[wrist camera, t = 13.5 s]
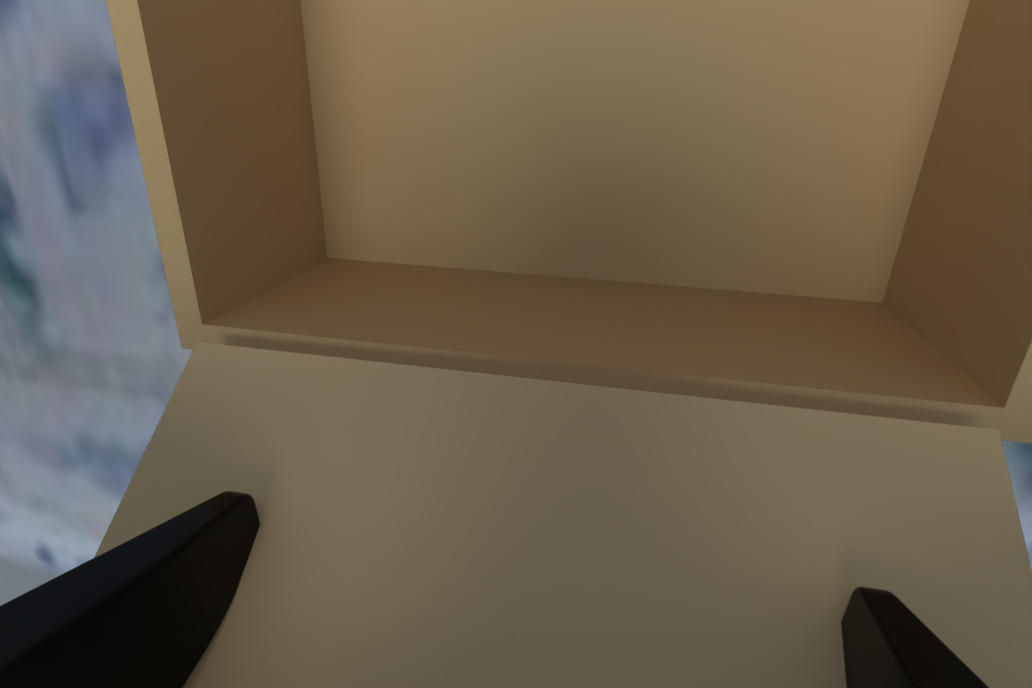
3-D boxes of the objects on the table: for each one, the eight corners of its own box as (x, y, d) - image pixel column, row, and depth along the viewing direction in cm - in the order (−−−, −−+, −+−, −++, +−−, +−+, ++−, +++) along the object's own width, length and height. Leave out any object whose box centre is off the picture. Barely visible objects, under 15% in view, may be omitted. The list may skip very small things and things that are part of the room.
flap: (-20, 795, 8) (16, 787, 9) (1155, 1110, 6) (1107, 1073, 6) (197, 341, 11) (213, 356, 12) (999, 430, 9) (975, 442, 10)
